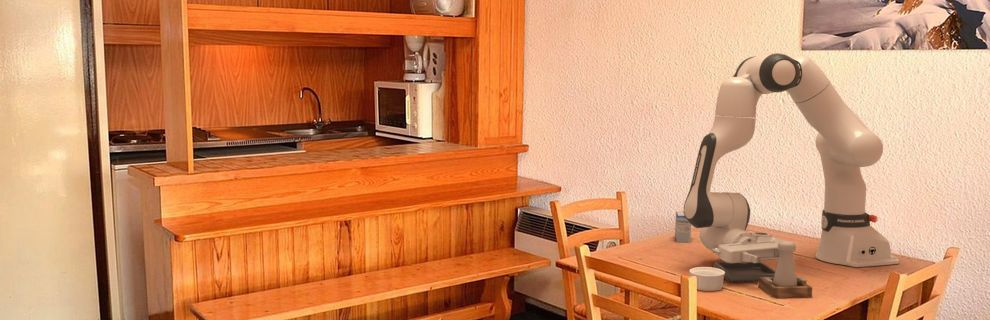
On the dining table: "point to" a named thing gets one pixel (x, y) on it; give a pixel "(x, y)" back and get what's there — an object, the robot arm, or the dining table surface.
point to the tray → (744, 271)
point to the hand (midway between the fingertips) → (773, 258)
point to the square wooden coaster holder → (785, 288)
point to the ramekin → (708, 278)
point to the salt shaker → (785, 265)
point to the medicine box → (682, 228)
